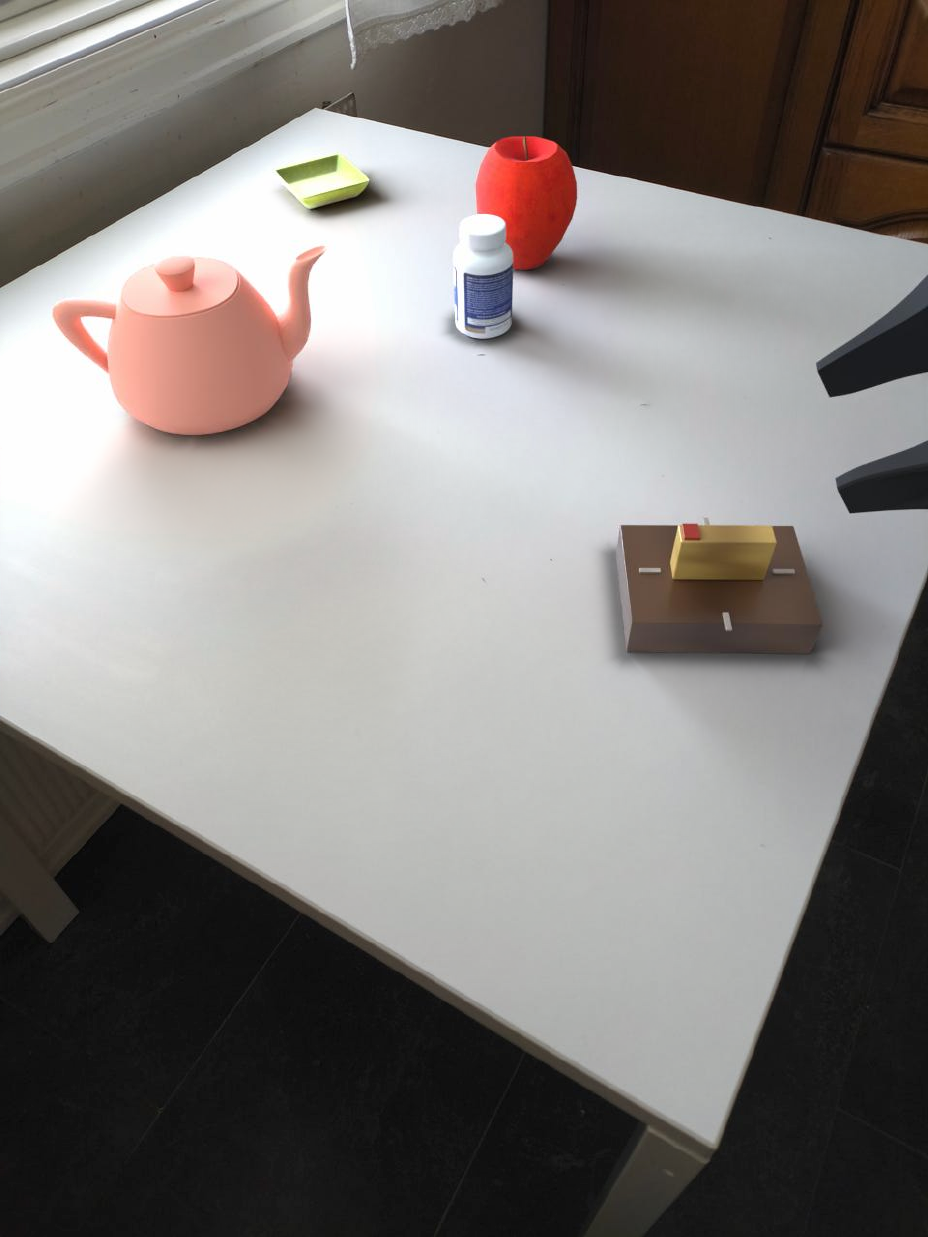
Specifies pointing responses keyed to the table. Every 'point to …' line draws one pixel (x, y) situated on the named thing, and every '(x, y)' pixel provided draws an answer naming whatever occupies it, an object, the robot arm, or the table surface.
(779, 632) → the lock plate
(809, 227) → the table surface
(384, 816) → the table surface
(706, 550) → the handle
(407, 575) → the table surface
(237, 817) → the table surface
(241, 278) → the teapot
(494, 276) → the pill bottle
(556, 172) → the apple
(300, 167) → the green square tray
